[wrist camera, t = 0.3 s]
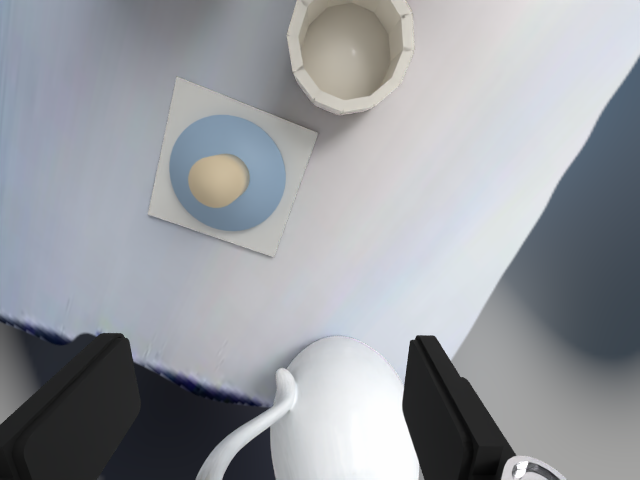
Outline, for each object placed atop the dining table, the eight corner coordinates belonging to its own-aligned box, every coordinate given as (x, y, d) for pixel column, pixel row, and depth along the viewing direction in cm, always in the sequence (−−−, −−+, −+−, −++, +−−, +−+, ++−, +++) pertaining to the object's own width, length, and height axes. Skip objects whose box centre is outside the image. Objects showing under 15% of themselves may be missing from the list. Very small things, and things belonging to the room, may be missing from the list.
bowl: (314, -24, 31) (314, -59, 25) (414, 23, 32) (435, -1, 26) (279, 91, 34) (272, 83, 28) (371, 129, 35) (382, 128, 30)
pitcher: (417, 369, 46) (551, 679, 20) (332, 427, 50) (351, 757, 24) (307, 259, 40) (292, 495, 14) (220, 334, 44) (77, 635, 18)
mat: (178, 77, 33) (176, 76, 33) (318, 133, 35) (318, 133, 35) (150, 213, 38) (147, 214, 38) (274, 255, 40) (274, 257, 40)
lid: (187, 96, 34) (161, 88, 28) (301, 141, 35) (298, 142, 29) (162, 207, 37) (135, 220, 32) (266, 243, 39) (258, 261, 33)
